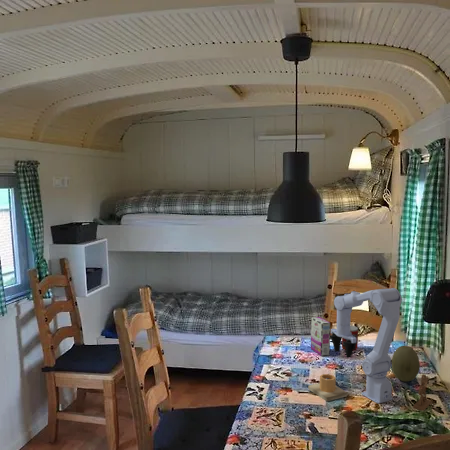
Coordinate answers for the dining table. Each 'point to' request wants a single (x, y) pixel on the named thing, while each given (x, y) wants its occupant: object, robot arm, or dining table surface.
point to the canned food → (355, 333)
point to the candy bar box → (320, 336)
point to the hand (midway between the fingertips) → (342, 354)
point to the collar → (327, 383)
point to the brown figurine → (423, 401)
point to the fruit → (405, 363)
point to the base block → (327, 395)
